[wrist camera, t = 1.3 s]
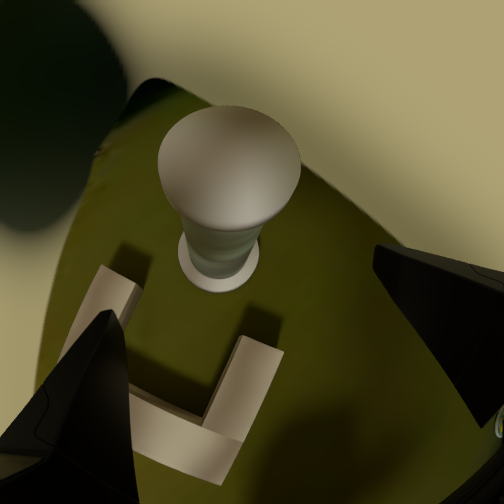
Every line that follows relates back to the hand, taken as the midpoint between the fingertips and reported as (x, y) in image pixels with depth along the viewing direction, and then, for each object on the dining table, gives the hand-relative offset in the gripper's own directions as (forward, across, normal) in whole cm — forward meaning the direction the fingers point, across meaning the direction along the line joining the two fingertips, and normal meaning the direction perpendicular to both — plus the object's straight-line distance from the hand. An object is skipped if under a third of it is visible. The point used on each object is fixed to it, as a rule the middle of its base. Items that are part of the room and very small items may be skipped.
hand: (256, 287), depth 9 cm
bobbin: (+13, 0, +6) cm, 14 cm away
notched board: (+7, +6, +12) cm, 15 cm away
